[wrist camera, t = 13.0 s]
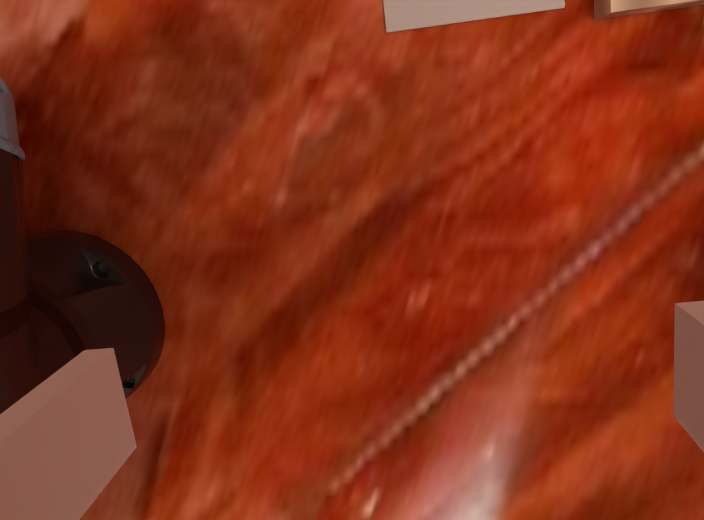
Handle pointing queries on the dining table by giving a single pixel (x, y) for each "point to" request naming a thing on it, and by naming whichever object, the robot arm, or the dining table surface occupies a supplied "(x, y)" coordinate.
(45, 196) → the dining table surface
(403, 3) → the mat
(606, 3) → the hole block
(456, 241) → the dining table surface
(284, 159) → the dining table surface
